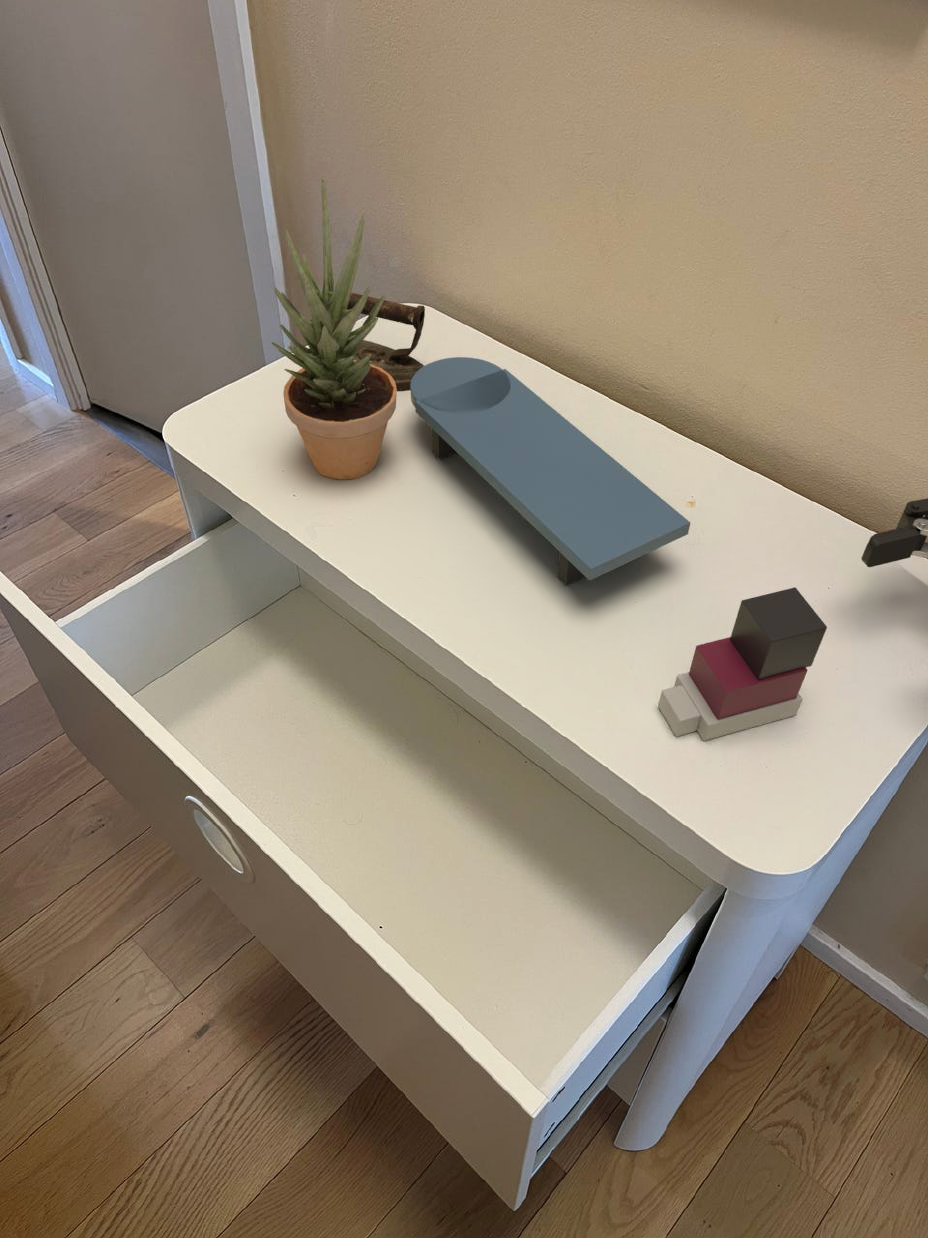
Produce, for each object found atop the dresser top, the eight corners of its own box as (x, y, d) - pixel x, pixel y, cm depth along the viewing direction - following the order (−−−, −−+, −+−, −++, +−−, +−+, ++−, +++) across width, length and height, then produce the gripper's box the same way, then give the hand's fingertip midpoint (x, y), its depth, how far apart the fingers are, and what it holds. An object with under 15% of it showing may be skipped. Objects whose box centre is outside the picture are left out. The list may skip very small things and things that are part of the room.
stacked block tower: (762, 667, 70) (792, 582, 63) (796, 715, 67) (831, 631, 60) (651, 696, 68) (671, 612, 62) (681, 747, 65) (705, 664, 59)
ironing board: (680, 570, 77) (690, 522, 73) (584, 616, 73) (591, 569, 69) (477, 391, 94) (478, 345, 90) (392, 422, 90) (389, 376, 86)
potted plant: (418, 472, 85) (406, 190, 67) (318, 505, 82) (277, 219, 64) (371, 413, 91) (348, 140, 73) (276, 442, 88) (228, 164, 70)
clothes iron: (338, 349, 100) (355, 259, 93) (438, 391, 99) (463, 303, 92) (310, 379, 95) (326, 286, 88) (416, 423, 94) (440, 333, 87)
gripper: (1053, 443, 70) (859, 487, 67) (1212, 574, 61) (996, 633, 57) (1010, 522, 75) (829, 566, 72) (1150, 653, 66) (950, 710, 63)
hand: (903, 595), depth 65 cm, fingers open, 8 cm apart
